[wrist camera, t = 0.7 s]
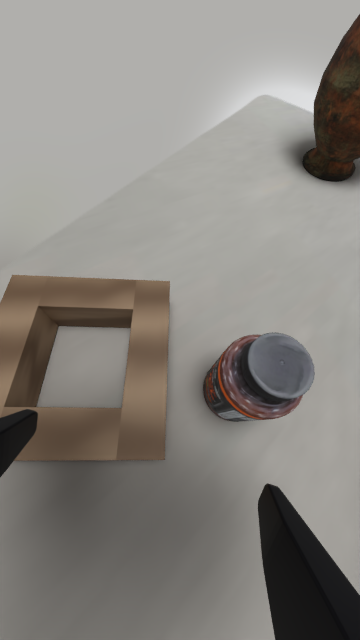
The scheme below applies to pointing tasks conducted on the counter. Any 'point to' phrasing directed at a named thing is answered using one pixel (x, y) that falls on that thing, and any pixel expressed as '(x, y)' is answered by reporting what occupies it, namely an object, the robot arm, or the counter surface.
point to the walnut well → (34, 352)
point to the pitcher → (338, 113)
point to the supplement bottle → (259, 378)
